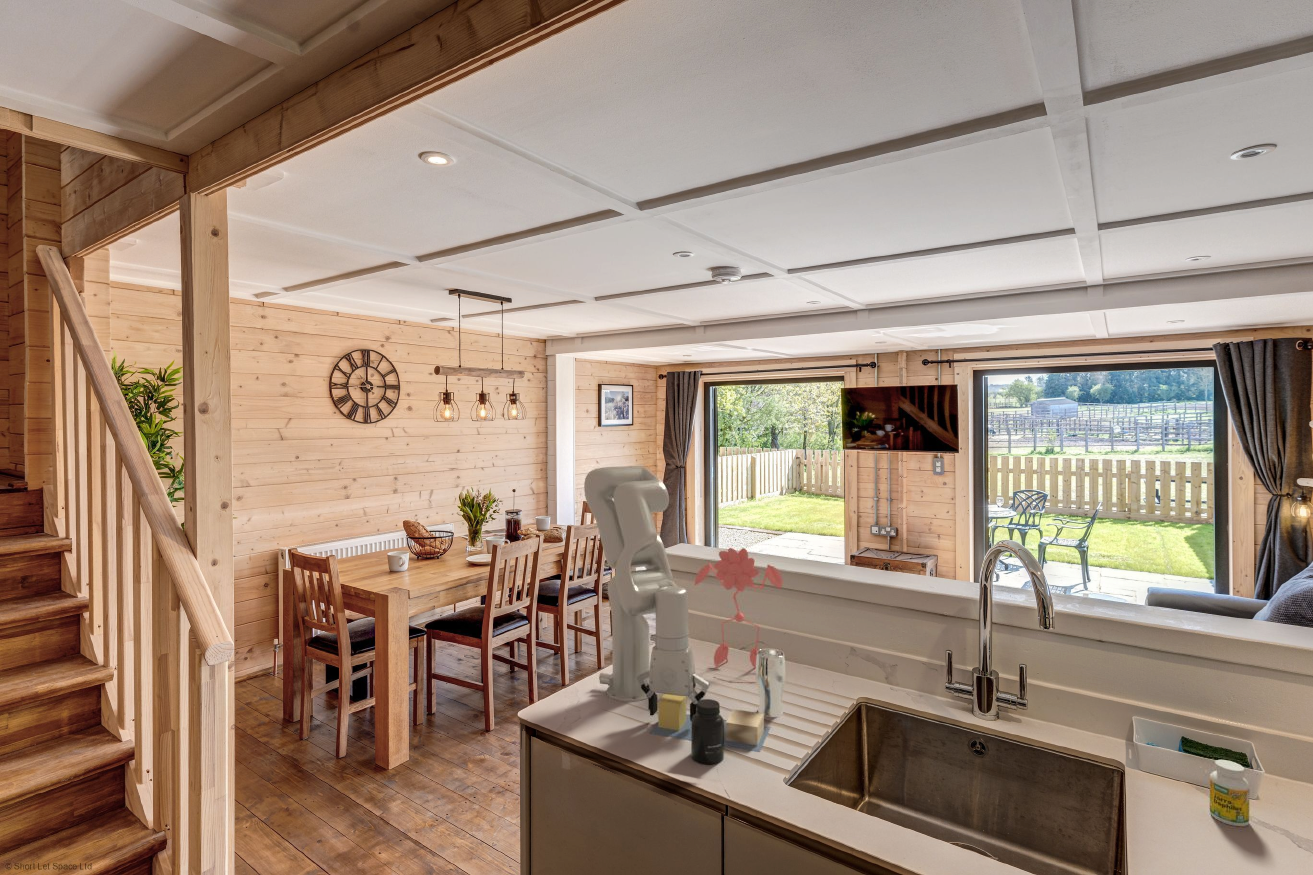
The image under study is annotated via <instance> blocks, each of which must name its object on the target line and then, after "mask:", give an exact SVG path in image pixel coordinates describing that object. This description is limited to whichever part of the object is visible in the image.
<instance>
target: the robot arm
mask: <svg viewBox="0 0 1313 875" xmlns="http://www.w3.org/2000/svg"><path fill="white" fill-rule="evenodd" d="M585 476H586V477H585V478H584V483H583V485H584V486H583V487H584V488H583V490H584V496H585V500H586V503H587V506H588V508H589V510H590V512H591V514H592V516H593V518H594V519H595V522H596V524H597V525H596V526H597V528H598V533H599V538H600V540H601V545H602V550H603V553H604V557H605V559H606V563H607V564H608V566H609V567H610V568H611V569H614V570H615V571H614V572H615V573H614V574H615V575H614V576H612V577H611V579H610V580H609V582H608V585H607V592H608V594H607V595H608V599H609V605H610V610H611V626H612V627H611V628H612V630H611V632H612V638H611V639H612V640H611V641H612V650H611V651H612V673H611V674H609V673H604V672H600V673H599V676H598V680H599V684H600V685H607V686H608V687H607V688H606V696H607V698H611V699H612V700H616V701H619V702H626V703H627V702H628V703H629V702H632V703H633V702H640V701H646V700H648V702H647V703H648V706H647V707H648V711H649V716H651V717H653V716H654V715H655V714H656V713H657V712H658V694H661V695H662V694H663V695H664V694H669V695H677V696H686V697H687V698H688V699H689V700H690V701H691V702H690V704H689V715H690V721H692V718H693V716H694V715H695V714H697V713H696V708H697V702H698V701H700V700H703V698H704V697H705V696H706V694H707V692H708V690H709V689H710V687H711V684H710V682H708V681H707V680H705V679H704V678H703V677H700V676H699V675H698V674H696V667H695V666H696V665H695V658H694V653H693V649H692V647H691V646H690V644H689V643H690V636H689V634H690V633H689V631H690V630H689V595H688V591H687V589H686V588H684V587H681V586H678V585H677V584H676V583H675V581H674V576H673V573H672V570H671V566H670V563H669V562H670V561H669V559H668V555H667V551H666V549H665V545H664V542H663V541H662V538H661V536H660V535H659V534H658V532H657V528H656V525H655V524H656V523H655V521H654V518H653V514H655V513H663V512H665V511H666V510H667V508H668V506H669V502H670V496H669V492H668V489H667V487H666V485H665V483H664V482H663V481H662V480H661V479H660V478H659V477H658V476H656V475H655V474H654V473H653V472H651V470H649V469H648V468H646V467H644V466H641V465H627V466H626V465H625V466H605V467H604V466H603V467H598V468H595V469H592V470H591V471H589V472H588V473H587V474H586V475H585ZM642 567H643V568H645V569H641V570H638V569H637V568H642ZM635 568H636V569H637V570H631V569H635ZM650 614H655V633H654V634H651V635H650V626H649V622H648V620H647V619H646V617H645V616H644V615H650ZM650 641H653V642H654V646H652V648H651V655H650ZM696 685H698V686H699V687H701V688H700V691H699V692H698V691H697V690H696Z"/></svg>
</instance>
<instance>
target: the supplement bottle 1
mask: <svg viewBox="0 0 1313 875" xmlns="http://www.w3.org/2000/svg"><path fill="white" fill-rule="evenodd" d="M720 710H721V708H720V702H718V701H717V700H715V699H711V698H710V699H709V698H708V699H707V698H705V699H703V698H702V699H701V700H700V701H698V702H697V708H696V713H697V714H695V715H694V716H693V718H692V726H691V740H690V743H691V746H690V747H691V748H690V749H691V750H690V751H691V752H690V753H691V754H690V757H691V758H690V759H691V760H692V761H693V762H695V763H696V764H699V765H702V766H704V765H705V766H715V765H718V764H720V763H722V762H723V760H724V758H725V746H724V720H725V719H724V718H723V716H722V715H721V714H720V713H721V711H720Z"/></svg>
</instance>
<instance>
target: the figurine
mask: <svg viewBox="0 0 1313 875" xmlns="http://www.w3.org/2000/svg"><path fill="white" fill-rule="evenodd" d="M718 556H719V558H720V560H718V561H716V562H715V563H714V564H713V566H712V563H710V562H709V563H708V564H706V565H704V566H703V567H702V568H701V569H700V570H698V572H697V574H696V576H695V580H694V586H696V585H699V584H700V583H701V582H703V581H704V580H705V578H708V577H707V576H708V575H709V574H710V572H711V571H710V570H712V572H713V573H714V575H715V578H716V579H717V580H718V581H720V583H721V585H722V586H723V587H724V589H725V590H727V591H729V590H732V588H733V587H734V588H735V589H736V591H735V592H734V594H733V596H732V597H733V600H734V603H735V606H736V607H735V608H736V610H737V612H736V613H735V614H734V618H731V619H727V620H725V621H722V622H721V632H722V633H721V634H722V643H721V644H720V645H719V646H717V648H716V650H715V651H714V656H713V664H714V667H715V668H716V667H718V666H720V665H722V664H723V663H724V662H725V661H726V663H729V658H728V655H729V649H730V648H729V647H730V646H729V645H728V644H727V643H725V634H724V623H728V622H731V621H734V620H735V622H736V623H742V622H746V623H748V624H750V625H753V626H755V627H756V628H757V632H756V641H755V647H753V648H752V649H751V650H750V653H749V661H750V663H751V666H752V667H753V668H754V669H755V670H756V657H757V651H758V650H760V649H759V648H758V642H759V634H760V626H759V625H758V624H755V623H754V622H751V621H748V620H746V619H745V615H744V614H743V613H742V612H740V610H739V606H738V602H737V599H736V596H737V594H738V593H739V592H741V593H742V592H743V591H745V589H746V588H747V587H750V588H755V589H760V590H761V589H763V588H764V585H765V582H766V579H767V580H768V581H769V582H770V583H771V584H772V585H773V586H774V587H777V588H779V589H782V587H783V586H782V585H783V578H782V574H781V572H780V571H779V570H778V568H776V567H775V566H773V565H770V564H767V565H766V569H765V574H764V578H763V580H762V584H761V585H760V586H759V585H754V584H755V583H754V578H755V577H757V575H759V573H760V571H759V569H757V567H754V565H755V559H754V558H753V557H749V553H748V550H747V549H746V548H741V549H740V550H739V551H737V550H736V549H734V548H732V547H729V548H728V549H727V550H721V551H719V552H718ZM716 570H717V571H716ZM752 578H753V579H752ZM708 658H709V656H707V657H706V659H708ZM713 678H715V679H717V680H720V681H722V682H723V681H725V682H727V680H725V679H721V678H718V677H716V676H713ZM728 683H733V684H734V683H735V684H736V683H737V684H756V681H751V682H750V681H748V682H747V681H746V682H744V681H742V682H741V681H732V680H728Z"/></svg>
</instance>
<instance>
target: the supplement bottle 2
mask: <svg viewBox="0 0 1313 875" xmlns="http://www.w3.org/2000/svg"><path fill="white" fill-rule="evenodd" d="M1214 769H1215V770H1213V771H1212V772H1211V773H1210V775H1209V814H1210V815H1211V816H1212V817H1213V818H1214V819H1215V820H1217V821H1219V822H1222V823H1223V824H1226V825H1229V826H1234V827H1246V826H1248V825H1249V823H1250V789H1251V788H1250V783H1249V782H1248V780H1247V779H1246V778H1244V777H1245V767H1244V766H1242V765H1241V764H1240V763H1237V762H1234V761H1231V760H1226V759H1218V760H1214Z"/></svg>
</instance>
